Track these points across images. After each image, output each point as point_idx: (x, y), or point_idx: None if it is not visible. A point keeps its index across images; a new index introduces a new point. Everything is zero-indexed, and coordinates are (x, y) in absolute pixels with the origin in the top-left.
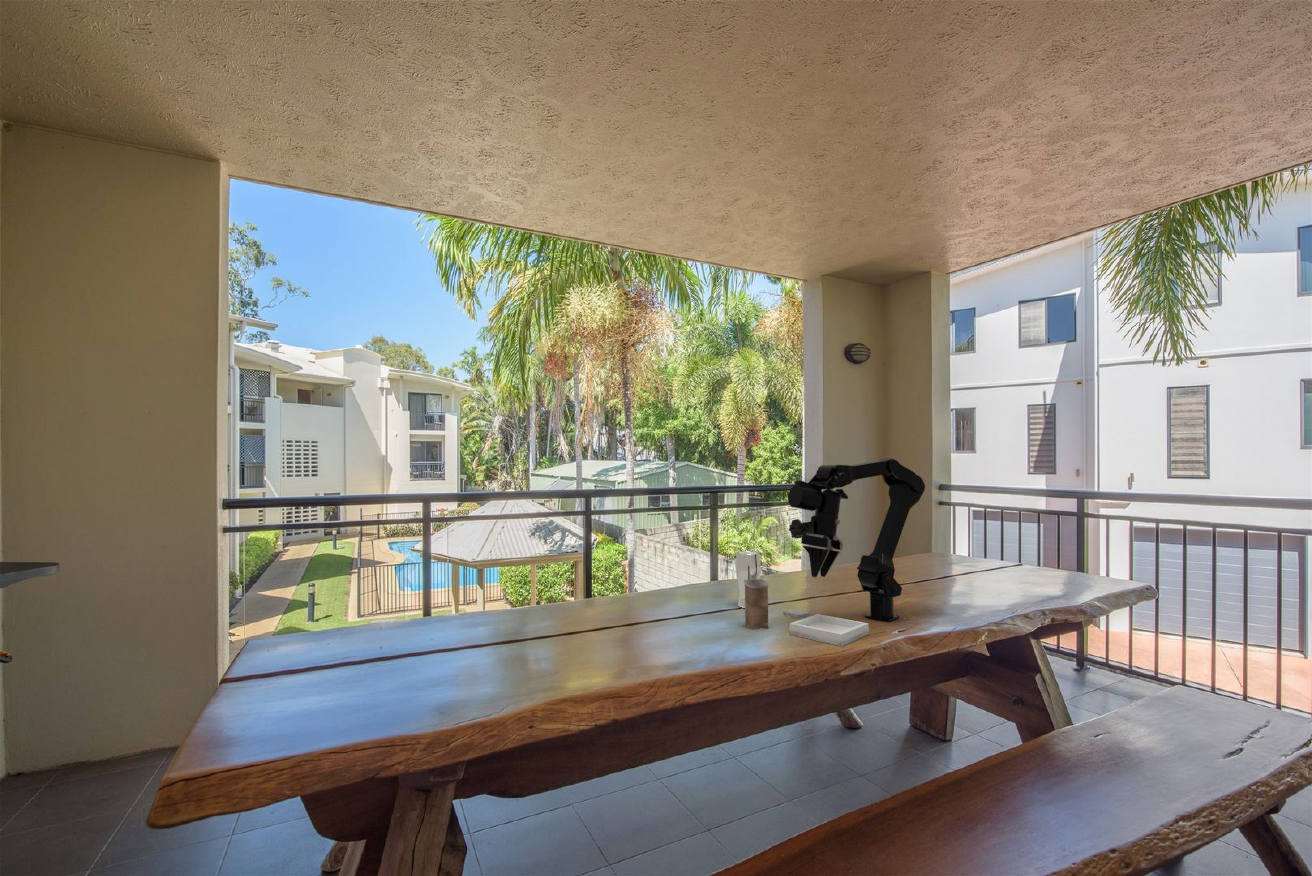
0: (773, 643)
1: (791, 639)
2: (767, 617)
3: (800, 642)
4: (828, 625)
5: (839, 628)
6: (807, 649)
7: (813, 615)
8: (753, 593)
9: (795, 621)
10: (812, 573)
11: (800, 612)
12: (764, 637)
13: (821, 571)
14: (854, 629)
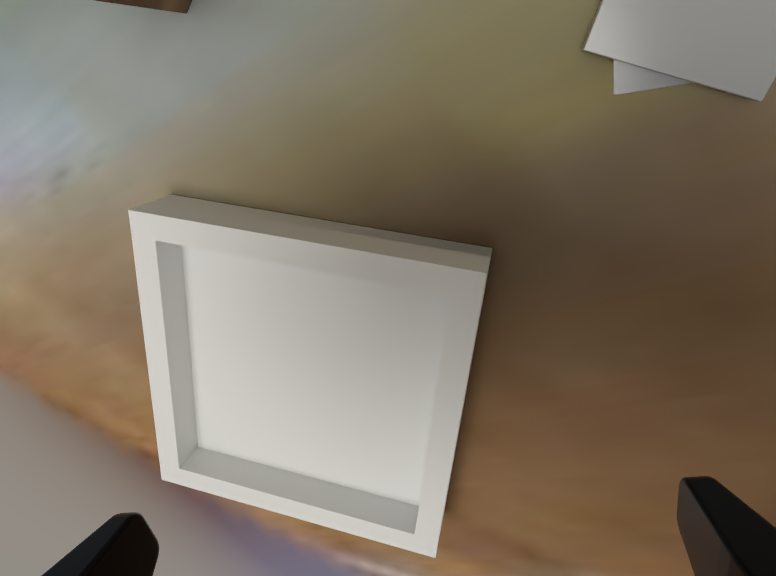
0: (6, 193)
1: (115, 238)
2: (130, 2)
3: (111, 290)
4: (397, 350)
5: (375, 412)
6: (61, 345)
7: (418, 263)
8: None
9: (193, 221)
10: (84, 554)
11: (716, 15)
12: (35, 104)
13: (718, 549)
14: (281, 512)
